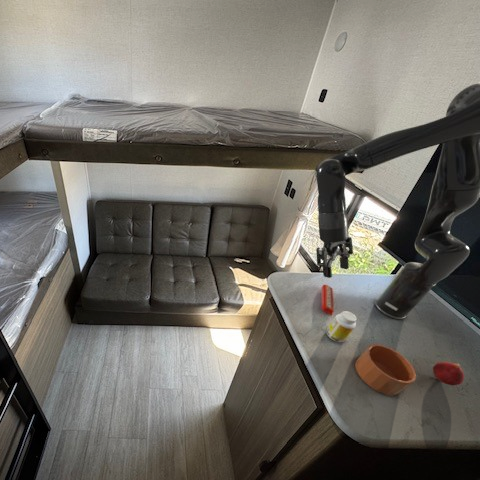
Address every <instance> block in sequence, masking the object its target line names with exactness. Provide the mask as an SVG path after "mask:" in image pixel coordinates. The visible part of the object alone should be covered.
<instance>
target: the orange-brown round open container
mask: <svg viewBox="0 0 480 480" xmlns="http://www.w3.org/2000/svg"><path fill="white" fill-rule="evenodd" d="M354 365H355V370H356V373H357V374H358V376H359V377H360V378H361V380H362V381H363V382H364V383H365V384H366V385H368V386H369V387H370V388H372V389H374V391H376V392H378V393H380V394H383V395H386V396H396V395H398V394H400V393H401V392H402V391H404V390H405V389H406V388H408V387H409V386H410V385H411V384H412V383H414V382H415V380H416V379H417V375H416V370H415V369H414V367H413V365H412V364H411V363H410V362H409V360H408V359H407V358H406V357H405V356H403V355H402V354H401V353H399V352H398V351H396V350H394V349H393V348H391V347H388V346H387V345H383V344H378V343H377V344H375V343H374V344H369V346H368V347H367V348H366V350H364V352H363V353H362V354H360V356H359V357H358V358H357V360H355V364H354Z"/></svg>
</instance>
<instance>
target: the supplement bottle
mask: <svg viewBox="0 0 480 480" xmlns="http://www.w3.org/2000/svg"><path fill="white" fill-rule="evenodd" d="M356 321H358V319H357V316H356V315H355V314H354V313H352V312H351V311H347V310H344V311H342V312H341V313H338V314H336V315H335V317H334V318H333V319H332V321H331V322H330V324H329V325H328V327H327V329H326V331H325V332H326V335H327V336H328V337H329V338H330V340H332V341H334V342H336V343H343V342H345V341H346V340H347V338H348V337H349V336H350V335H351V333H352V332H353V331H354V329H355V328H356V326H357V323H356Z"/></svg>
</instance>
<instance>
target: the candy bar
mask: <svg viewBox="0 0 480 480" xmlns="http://www.w3.org/2000/svg"><path fill="white" fill-rule="evenodd" d="M333 290H334V289H333V287H331V286H329V285H327V284H322V286H321V310H322V311H323V312H325V314H328V315H329V316H332V315H333V313H334V309H335V308H334V305H335V304H334V291H333Z"/></svg>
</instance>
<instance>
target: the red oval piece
mask: <svg viewBox="0 0 480 480" xmlns="http://www.w3.org/2000/svg"><path fill="white" fill-rule="evenodd" d="M432 371H433V372H432V373H433V375H434V377H435V378H436V380H438V381H439V382H441V383H443V384H446V385H448V386H459V385H461V384H462V383H463V382H464V380H465V372H464V371H463V369H462V368H461V365H460V364H459V362H458V363H453V362H449V361H440V362H437V363H435V364H434V366H433V367H432Z"/></svg>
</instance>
